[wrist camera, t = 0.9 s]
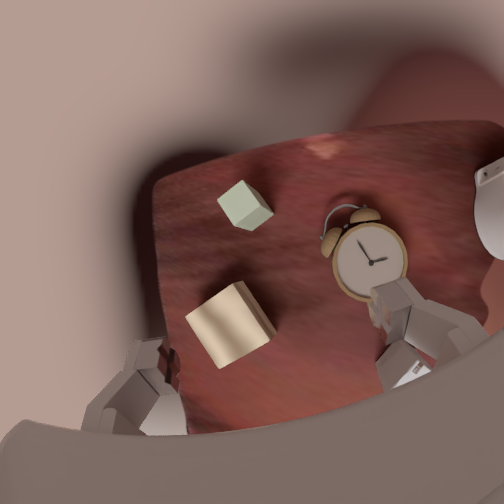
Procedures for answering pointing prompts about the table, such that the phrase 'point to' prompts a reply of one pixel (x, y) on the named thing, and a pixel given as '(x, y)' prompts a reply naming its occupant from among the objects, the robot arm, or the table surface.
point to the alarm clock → (364, 254)
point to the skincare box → (400, 365)
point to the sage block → (245, 206)
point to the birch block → (231, 324)
